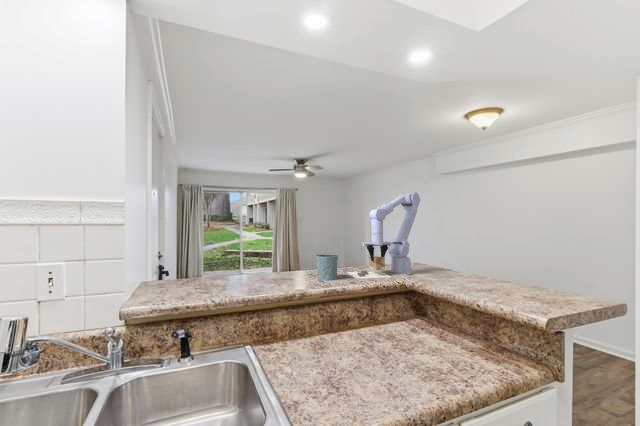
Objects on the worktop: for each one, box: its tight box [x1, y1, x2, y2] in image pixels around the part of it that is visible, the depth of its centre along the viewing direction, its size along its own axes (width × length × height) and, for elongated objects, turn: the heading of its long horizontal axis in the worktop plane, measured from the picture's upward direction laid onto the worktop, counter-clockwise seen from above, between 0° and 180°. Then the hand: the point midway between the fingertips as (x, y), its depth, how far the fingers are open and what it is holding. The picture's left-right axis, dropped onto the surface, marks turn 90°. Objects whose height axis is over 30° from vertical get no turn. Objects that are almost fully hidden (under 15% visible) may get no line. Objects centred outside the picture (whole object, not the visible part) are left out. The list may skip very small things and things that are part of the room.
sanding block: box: [368, 256, 386, 271], centre depth 148 cm, size 4×10×6 cm, turn 9°
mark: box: [360, 270, 369, 275], centre depth 149 cm, size 2×4×1 cm, turn 8°
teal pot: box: [315, 253, 339, 284], centre depth 137 cm, size 10×10×12 cm
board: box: [346, 270, 392, 280], centre depth 146 cm, size 18×16×1 cm
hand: (377, 260), depth 147 cm, fingers closed on sanding block, 4 cm apart
